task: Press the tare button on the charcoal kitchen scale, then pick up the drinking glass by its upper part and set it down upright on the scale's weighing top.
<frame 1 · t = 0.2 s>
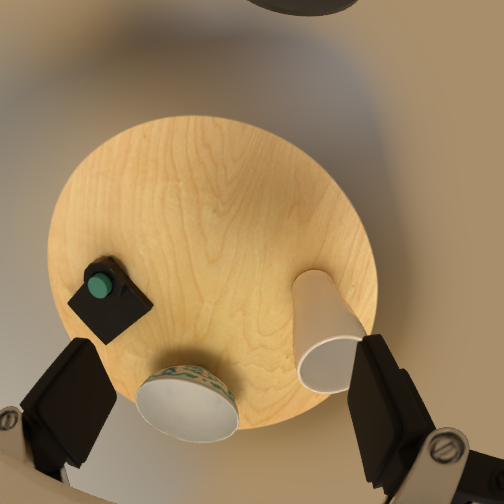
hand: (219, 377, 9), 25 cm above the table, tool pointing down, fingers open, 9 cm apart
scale: (108, 302, 38), on the table
chinaware: (195, 379, 42), on the table
drinking glass: (312, 286, 36), on the table
tare button: (100, 285, 33), point 3 cm above the table, slide at 0.1 cm
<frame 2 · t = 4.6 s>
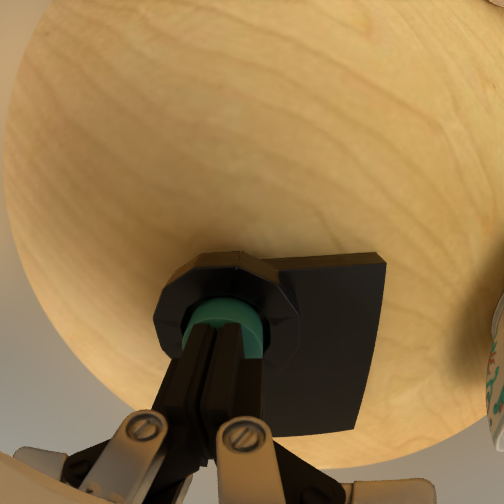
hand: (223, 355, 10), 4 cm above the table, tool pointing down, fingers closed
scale: (285, 359, 15), on the table
tare button: (224, 339, 11), point 3 cm above the table, slide at 0.0 cm, touching gripper
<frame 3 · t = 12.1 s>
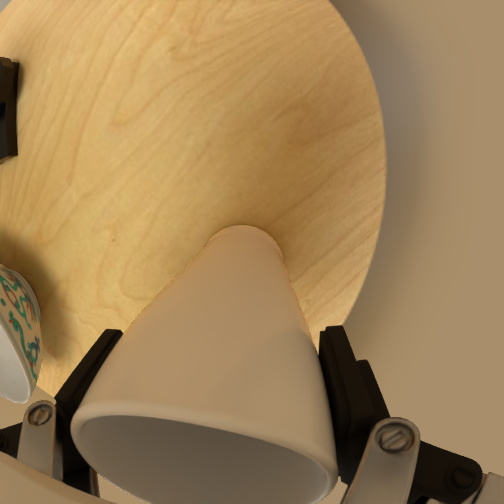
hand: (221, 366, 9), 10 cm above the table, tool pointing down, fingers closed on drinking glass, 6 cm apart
chinaware: (20, 298, 22), on the table
drinking glass: (242, 260, 19), on the table, touching gripper
when the fingers open (12 cm above the table, at t = 20.2 s): drinking glass stays where it is, resting on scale.
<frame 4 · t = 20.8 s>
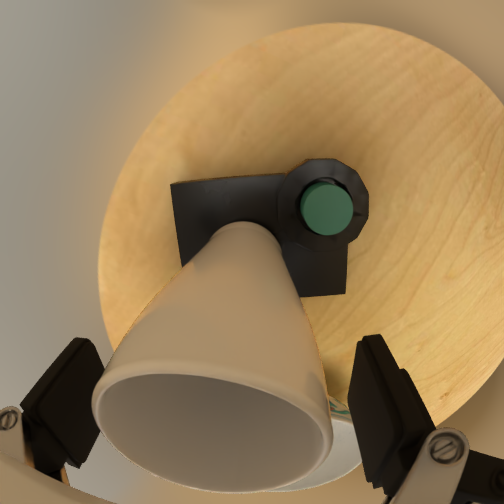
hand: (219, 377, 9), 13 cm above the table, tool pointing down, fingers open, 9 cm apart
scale: (262, 235, 21), on the table
chinaware: (282, 402, 27), on the table
drinking glass: (244, 255, 20), point 1 cm above the table, touching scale
tare button: (326, 207, 17), point 3 cm above the table, slide at 0.1 cm
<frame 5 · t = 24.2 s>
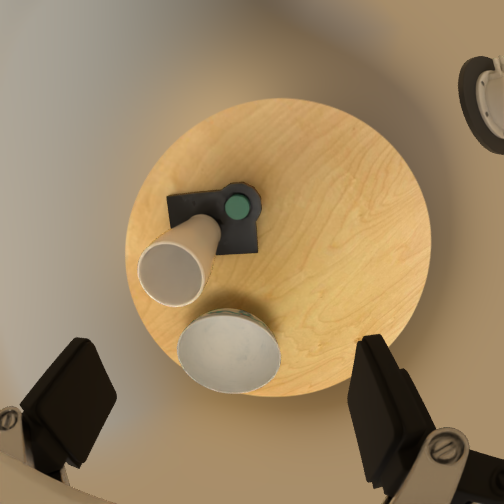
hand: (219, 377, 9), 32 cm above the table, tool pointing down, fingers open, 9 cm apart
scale: (213, 222, 40), on the table
chinaware: (233, 328, 46), on the table
drinking glass: (203, 231, 40), point 1 cm above the table, touching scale
tare button: (237, 206, 36), point 3 cm above the table, slide at 0.1 cm
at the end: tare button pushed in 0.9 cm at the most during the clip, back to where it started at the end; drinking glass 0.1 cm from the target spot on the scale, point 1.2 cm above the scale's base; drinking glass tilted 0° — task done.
